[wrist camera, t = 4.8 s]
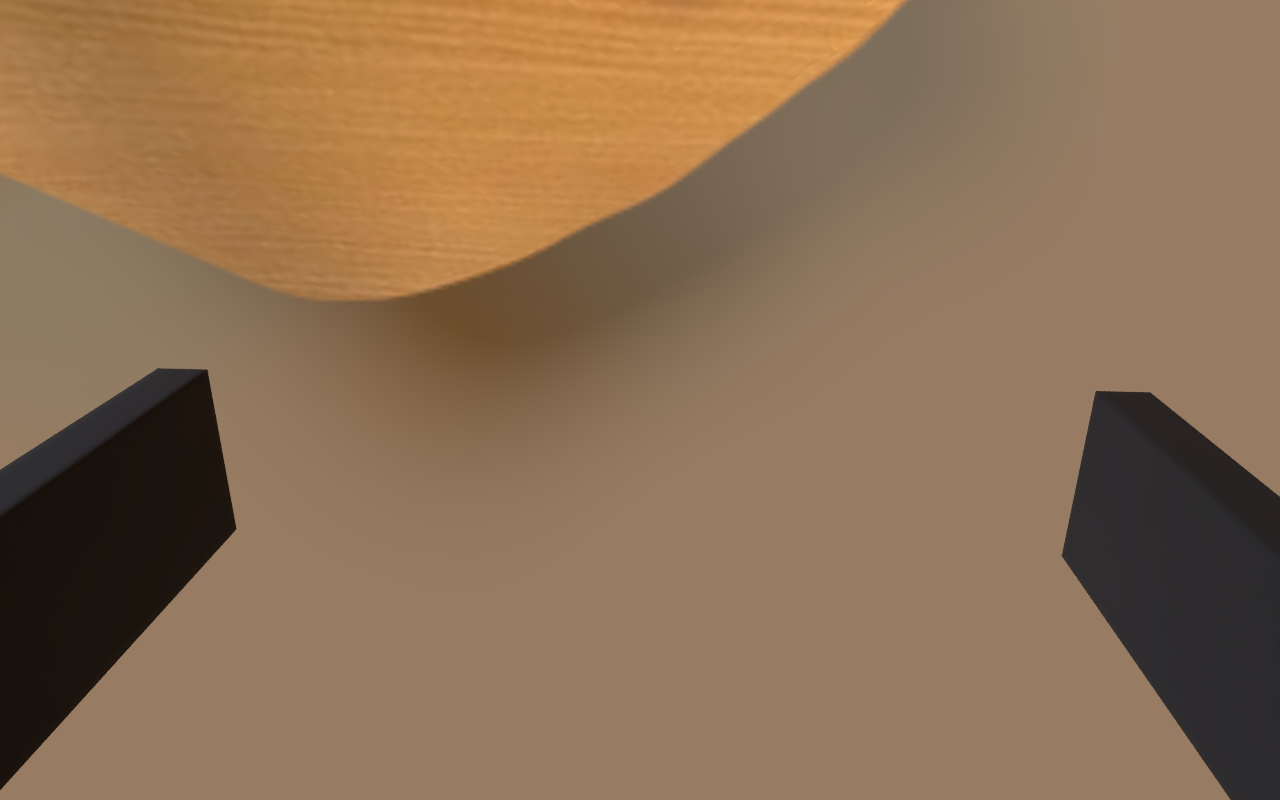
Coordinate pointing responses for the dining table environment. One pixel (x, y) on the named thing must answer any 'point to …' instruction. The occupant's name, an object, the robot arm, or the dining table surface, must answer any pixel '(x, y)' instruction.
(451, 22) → the dining table surface
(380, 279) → the dining table surface
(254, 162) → the dining table surface
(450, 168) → the dining table surface
